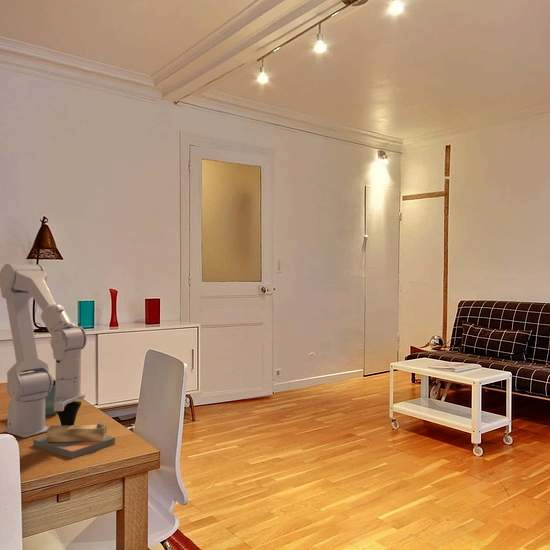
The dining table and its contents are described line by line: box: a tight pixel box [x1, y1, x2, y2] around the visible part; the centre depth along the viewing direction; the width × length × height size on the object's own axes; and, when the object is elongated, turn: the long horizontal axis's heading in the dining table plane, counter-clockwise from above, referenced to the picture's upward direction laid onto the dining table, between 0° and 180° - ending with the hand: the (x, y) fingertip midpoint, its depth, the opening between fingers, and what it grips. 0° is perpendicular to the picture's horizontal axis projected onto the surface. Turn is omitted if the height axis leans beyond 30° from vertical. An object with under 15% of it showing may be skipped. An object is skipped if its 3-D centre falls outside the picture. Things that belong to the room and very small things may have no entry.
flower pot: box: [45, 379, 57, 417], centre depth 149 cm, size 9×9×9 cm
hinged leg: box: [46, 422, 108, 442], centre depth 121 cm, size 13×3×4 cm, turn 95°
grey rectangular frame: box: [32, 435, 116, 460], centre depth 123 cm, size 15×12×2 cm
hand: (67, 432), depth 123 cm, fingers closed
